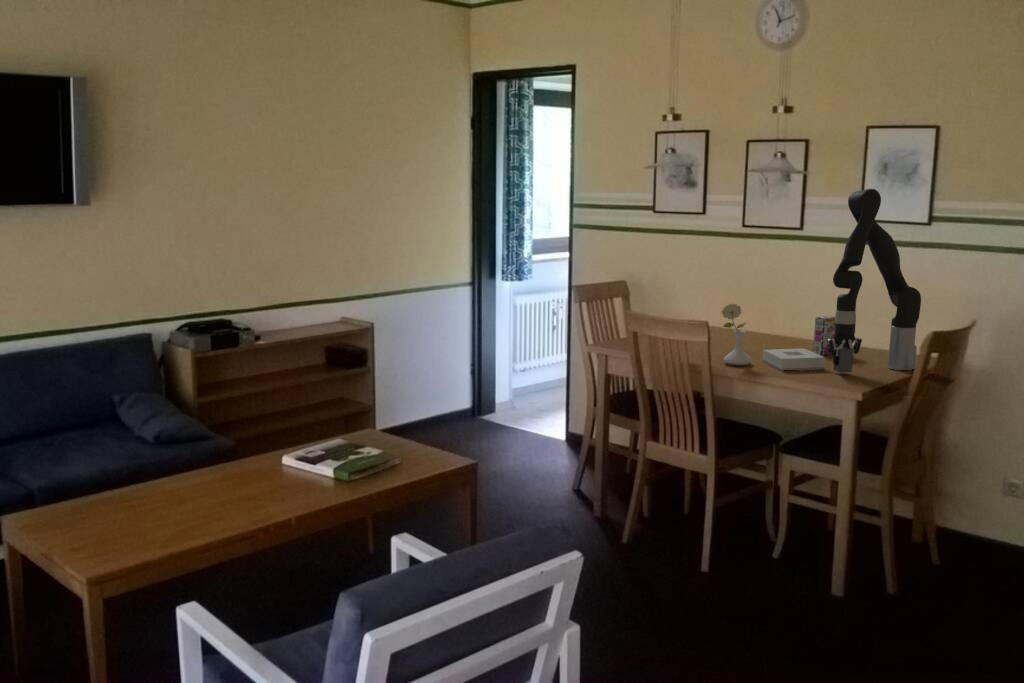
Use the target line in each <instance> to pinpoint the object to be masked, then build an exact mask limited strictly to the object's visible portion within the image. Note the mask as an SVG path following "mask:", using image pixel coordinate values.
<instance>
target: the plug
mask: <svg viewBox="0 0 1024 683" xmlns="http://www.w3.org/2000/svg"><path fill="white" fill-rule="evenodd" d="M838 348H839V347H838ZM838 356H839V363H838V365H837V366H836V365H834V364H833V371H835V372H838V373H852V372H853V363H852V360H853V361H854V356H853V349H849V348H846V347H845V348H842V349H840V351H839V355H838Z"/></svg>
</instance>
